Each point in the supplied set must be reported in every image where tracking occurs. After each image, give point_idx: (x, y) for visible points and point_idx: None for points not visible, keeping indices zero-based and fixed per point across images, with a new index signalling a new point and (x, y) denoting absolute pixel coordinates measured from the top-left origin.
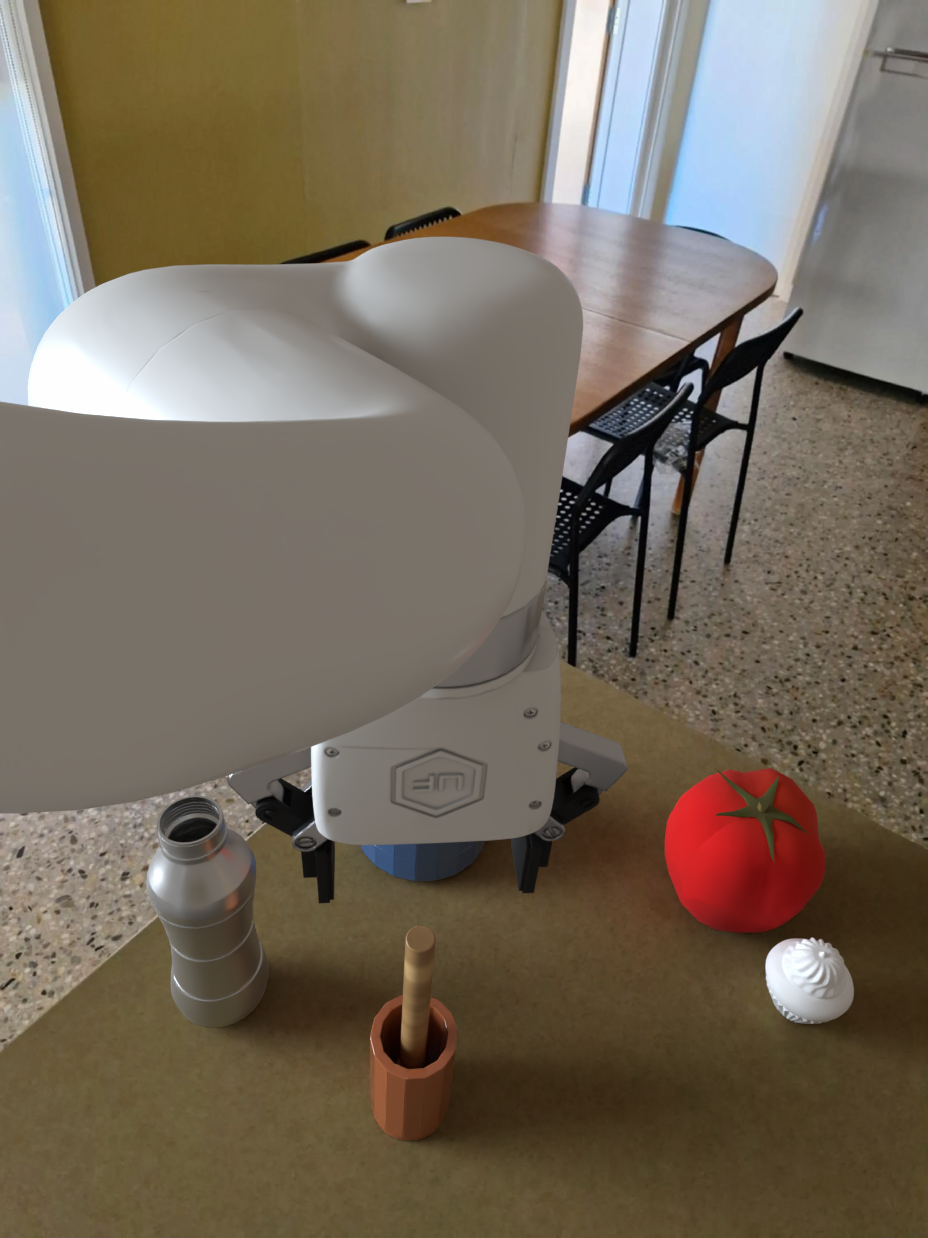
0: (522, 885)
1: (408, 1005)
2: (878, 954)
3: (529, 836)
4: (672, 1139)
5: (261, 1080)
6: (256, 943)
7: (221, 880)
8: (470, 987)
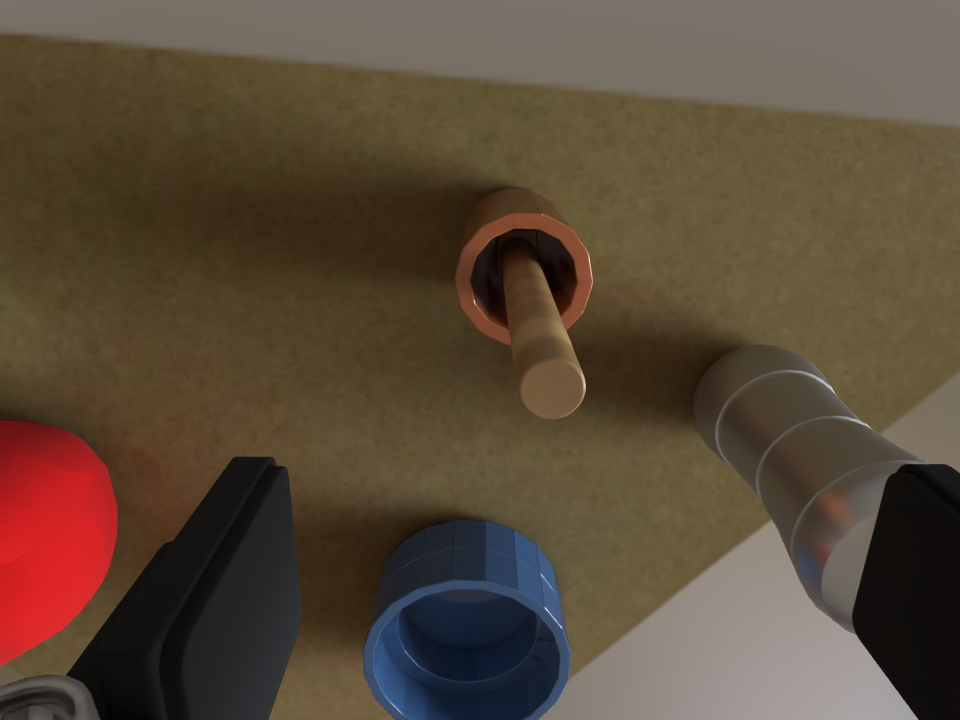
0: (266, 482)
1: (550, 299)
2: None
3: (165, 699)
4: (167, 159)
5: (701, 279)
6: (736, 443)
7: None
8: (420, 376)
